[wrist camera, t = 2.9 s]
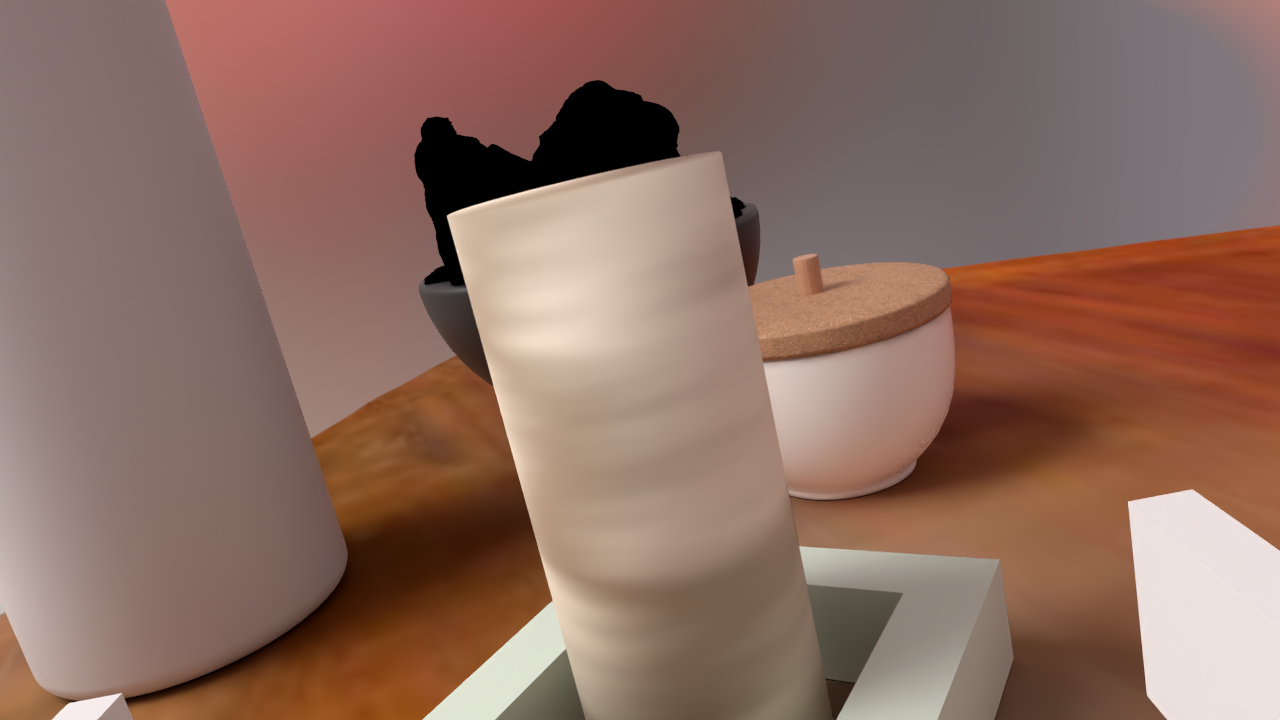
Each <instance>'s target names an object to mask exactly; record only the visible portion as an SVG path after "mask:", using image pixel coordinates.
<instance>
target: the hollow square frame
mask: <svg viewBox="0 0 1280 720" xmlns="http://www.w3.org/2000/svg"><path fill="white" fill-rule="evenodd" d="M799 548H800V553H801V558H802V563H803V568H804V573H805V578H806V583H807V588H808V593H809V598H810V603H811V608H812V613H813V618H814V623H815V628H816V633H817V639H818V644H819V649H820V654H821V659H822V664H823V669H824V674H825V678H826V679H832V680H839V681H846V682H853V683H856V684H855V686H854V687H853V689H852V691H851V693H850V695H849V697H848V699H847V701H846V703H845V704H844V706H843V708H842V710H841V712H840V714H839V716H838V718H837V720H994V719H995V716H996V713H997V710H998V707H999V703H1000V700H1001V697H1002V694H1003V691H1004V687H1005V684H1006V681H1007V678H1008V675H1009V672H1010V668H1011V665H1012V662H1013V659H1014V657H1013V650H1012V643H1011V635H1010V628H1009V621H1008V614H1007V607H1006V599H1005V592H1004V585H1003V578H1002V571H1001V563H1000V560H998V559H983V558H968V557H952V556H937V555H922V554H907V553H891V552H876V551H861V550H846V549H830V548H815V547H800V546H799ZM423 720H586V719H585V716H584V712H583V708H582V705H581V701H580V697H579V694H578V690H577V687H576V683H575V679H574V676H573V672H572V668H571V665H570V661H569V657H568V654H567V650H566V647H565V643H564V639H563V636H562V632H561V628H560V625H559V621H558V618H557V614H556V610H555V607H554V603H553V601H552V602H551V603H549V604H548V605H547V606H546V607H545V608H544V609H543V610H542V611H541V612H540V613H539V614H537V615H536V616H535V617H534V618H533V619H532V620H531V621H530V622H529V623H528V624H527V625H525V626H524V627H523V628H522V629H521V630H520V631H519V632H518V633H517V634H516V635H515V636H513V637H512V638H511V639H510V640H509V641H508V642H507V643H506V644H505V645H504V646H503V647H501V648H500V649H499V650H498V651H497V652H496V653H495V654H494V655H493V656H492V657H491V658H489V659H488V660H487V661H486V662H485V663H484V664H483V665H482V666H481V667H480V668H479V669H477V670H476V671H475V672H474V673H473V674H472V675H471V676H470V677H469V678H468V679H466V680H465V681H464V682H463V683H462V684H461V685H460V686H459V687H458V688H457V689H456V690H454V691H453V692H452V693H451V694H450V695H449V696H448V697H447V698H446V699H445V700H444V701H442V702H441V703H440V704H439V705H438V706H437V707H436V708H435V709H434V710H433V711H432V712H430V713H429V714H428V715H427V716H426V717H425V718H424V719H423Z"/></svg>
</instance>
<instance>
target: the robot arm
mask: <svg viewBox="0 0 1280 720" xmlns="http://www.w3.org/2000/svg"><path fill="white" fill-rule="evenodd" d="M1128 507H1129V517H1130V527H1131V537H1132V548H1133V558H1134V568H1135V578H1136V589H1137V599H1138V609H1139V619H1140V630H1141V640H1142V650H1143V660H1144V671H1145V681H1146V691H1147V696H1148V697H1149V699H1150V700H1151V701H1152V702H1153V703H1154V705H1155V706H1156V707H1157V708H1158V709H1159V711H1160V712H1161V713H1162V714H1163V715H1164V717H1165V718H1166V719H1167V720H1280V551H1279V550H1278V549H1277V548H1275V547H1274V546H1272V545H1271V544H1269V543H1268V542H1267V541H1265V540H1264V539H1262V538H1261V537H1259V536H1258V535H1257V534H1255V533H1254V532H1252V531H1251V530H1249V529H1248V528H1247V527H1245V526H1244V525H1242V524H1241V523H1240V522H1238V521H1237V520H1235V519H1234V518H1232V517H1231V516H1230V515H1228V514H1227V513H1225V512H1224V511H1222V510H1221V509H1220V508H1218V507H1217V506H1215V505H1214V504H1212V503H1211V502H1210V501H1208V500H1207V499H1205V498H1204V497H1202V496H1201V495H1200V494H1198V493H1197V492H1195V491H1194V490H1187V491H1181V492H1176V493H1171V494H1166V495H1160V496H1155V497H1150V498H1145V499H1139V500H1134V501H1129V502H1128ZM52 720H133V718H132V716H131V713H130V711H129V708H128V706H127V704H126V701H125V699H124V696H123V694H122V693H120V694H115V695H110V696H104V697H99V698H94V699H89V700H83V701H78V702H73V703H68V704H67V705H66V706H65V707H64V708H63V709H62V710H61V711H60V712H59V713H58V714H57V715H56V716H55V717H54V718H53V719H52Z"/></svg>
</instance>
